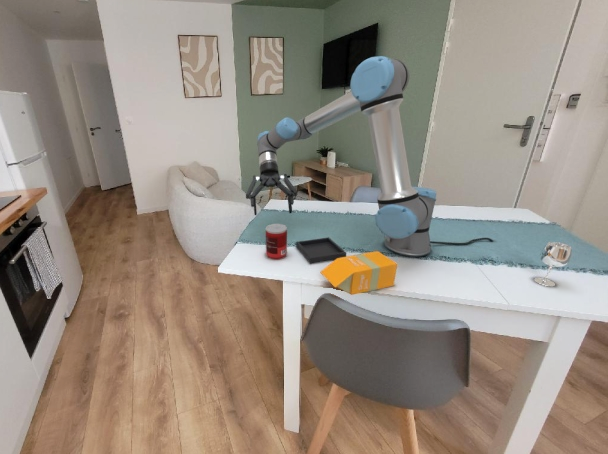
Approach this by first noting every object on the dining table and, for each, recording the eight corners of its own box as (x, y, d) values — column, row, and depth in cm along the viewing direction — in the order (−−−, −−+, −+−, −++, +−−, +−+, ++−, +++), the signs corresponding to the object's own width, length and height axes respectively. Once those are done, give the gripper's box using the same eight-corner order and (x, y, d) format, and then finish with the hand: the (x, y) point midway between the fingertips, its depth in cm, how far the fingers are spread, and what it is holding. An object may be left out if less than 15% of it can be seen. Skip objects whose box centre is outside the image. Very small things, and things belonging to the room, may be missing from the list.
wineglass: (525, 277, 88) (539, 241, 83) (543, 276, 88) (558, 240, 83) (545, 288, 82) (561, 251, 78) (564, 286, 83) (580, 249, 78)
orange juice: (393, 286, 87) (334, 299, 82) (374, 271, 95) (319, 282, 90) (398, 263, 84) (336, 275, 79) (377, 250, 92) (320, 260, 87)
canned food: (286, 249, 111) (286, 223, 107) (287, 260, 104) (287, 232, 100) (266, 249, 112) (266, 223, 108) (265, 259, 105) (265, 232, 101)
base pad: (328, 242, 115) (328, 237, 115) (345, 258, 103) (346, 252, 102) (296, 247, 113) (296, 241, 112) (310, 263, 101) (310, 258, 100)
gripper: (297, 169, 123) (303, 215, 115) (238, 172, 123) (241, 218, 115) (300, 159, 116) (307, 206, 108) (238, 162, 116) (240, 210, 108)
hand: (273, 212), depth 111 cm, fingers open, 13 cm apart
